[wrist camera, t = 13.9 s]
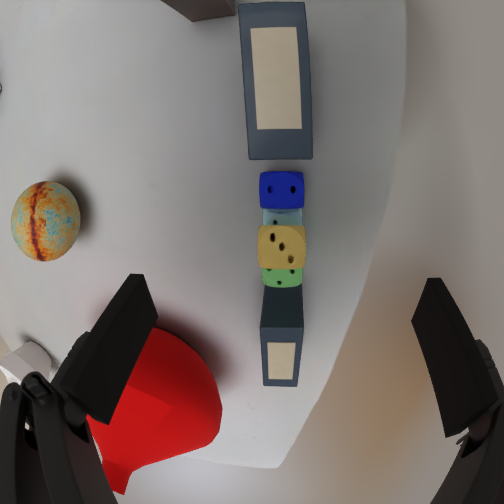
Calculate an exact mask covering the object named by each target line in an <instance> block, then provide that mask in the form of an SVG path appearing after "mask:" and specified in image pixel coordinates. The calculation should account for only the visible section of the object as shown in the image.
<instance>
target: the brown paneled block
mask: <svg viewBox="0 0 504 504" xmlns="http://www.w3.org/2000/svg"><path fill="white" fill-rule="evenodd" d="M161 1H162V2H164V3H166V4H167V5H169V6H170V7H172V8H173V9H175V10H176V11H177V12H179V13H180V14H182V15H183V16H185V17H186V18H187V19H189V20H190V21H192V22H194V21H199V20H204V19H210V18H217V17H224V16H231V15H235V4H234V0H161Z"/></svg>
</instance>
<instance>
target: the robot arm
mask: <svg viewBox="0 0 504 504" xmlns="http://www.w3.org/2000/svg"><path fill="white" fill-rule="evenodd" d="M157 318H158V314H157V311H156V308H155V306H154V303H153V300H152V298H151V295H150V292H149V289H148V286H147V283H146V281H145V278H144V275H143V274H130V275H129V276H128V277H127V279H126V280H125V282H124V283H123V284H122V286H121V287H120V289H119V290H118V291H117V293H116V294H115V296H114V297H113V299H112V300H111V301H110V303H109V304H108V306H107V307H106V309H105V310H104V312H103V313H102V315H101V316H100V318H99V319H98V321H97V322H96V324H95V325H94V327H93V328H92V330H91V332H85V333H84V334H82V335H81V336H80V337H79V338H78V339H77V340H76V342H75V343H74V345H73V347H72V350H70V351H69V353H68V356H67V357H66V358H65V360H64V361H63V363H62V365H61V366H60V368H59V370H58V371H57V373H56V375H55V377H54V378H53V380H52V382H51V383H49V382H48V381H47V380H46V379H45V377H44V376H43V375H42V374H41V373H40V372H37V371H33V372H30V373H28V374H27V375H26V376H25V377H24V378H23V380H22V382H21V385H19V384H18V383H16V382H12V383H10V384H8V385H7V386H6V388H5V389H4V391H3V394H2V399H1V405H0V504H118V503H117V500H116V498H115V496H114V494H113V491H112V489H111V487H110V484H109V482H108V480H107V477H106V475H105V472H104V469H103V467H102V464H101V461H100V458H99V455H98V452H97V449H96V446H95V444H94V440H93V437H92V433H91V430H90V426H89V423H88V421H87V419H86V416H87V414H88V415H89V416H91V417H92V418H93V419H94V420H96V421H98V422H101V423H103V424H106V425H108V426H109V424H110V421H111V419H112V416H113V414H114V412H115V409H116V407H117V405H118V402H119V400H120V398H121V395H122V393H123V391H124V388H125V386H126V384H127V382H128V379H129V377H130V375H131V373H132V371H133V368H134V366H135V364H136V362H137V360H138V358H139V355H140V353H141V351H142V349H143V347H144V345H145V343H146V341H147V339H148V337H149V335H150V332H151V330H152V328H153V326H154V324H155V322H156V320H157ZM411 322H412V325H413V327H414V330H415V333H416V335H417V338H418V341H419V344H420V347H421V349H422V352H423V355H424V358H425V361H426V364H427V368H428V371H429V374H430V377H431V381H432V384H433V388H434V391H435V395H436V398H437V402H438V406H439V410H440V414H441V419H442V423H443V427H444V433H445V437H446V438H447V437H450V436H453V435H456V434H459V433H461V432H462V431H463V430H465V429H466V428H467V427H468V429H469V432H468V433H467V434H466V435H464V436H463V437H462V438H460V439H459V440H458V441H457V443H456V444H457V445H458V444H459V443H461V442H462V441H463V440H464V441H463V443H462V444H461V445H460V446H461V448H460V450H459V452H458V454H457V456H456V458H455V461H454V463H453V465H452V467H451V468H450V471H449V472H448V474H447V476H446V478H445V480H444V482H443V484H442V485H441V487H440V488H439V490H438V492H437V494H436V495H435V497H434V498H433V500H432V501H431V503H430V504H504V385H503V383H502V380H501V378H500V375H499V373H498V370H497V368H495V363H494V361H493V360H492V357H491V354H490V352H489V350H488V348H487V347H486V346H485V344H484V343H483V342H482V341H481V340H480V339H479V340H475V339H474V337H473V335H472V333H471V331H470V329H469V327H468V325H467V323H466V321H465V319H464V317H463V316H462V314H461V312H460V310H459V308H458V306H457V305H456V303H455V301H454V299H453V298H452V296H451V294H450V292H449V291H448V289H447V287H446V286H445V284H444V282H443V281H442V279H441V278H428V279H427V281H426V284H425V287H424V290H423V292H422V295H421V298H420V300H419V303H418V306H417V308H416V310H415V313H414V315H413V318H412V320H411ZM25 422H26V423H27V424H28V425H29V430H27V429H26V428H25Z"/></svg>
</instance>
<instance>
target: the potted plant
mask: <svg viewBox="0 0 504 504" xmlns="http://www.w3.org/2000/svg"><path fill="white" fill-rule="evenodd" d="M51 364H52V362H51V358H50V356H49V355H48V353H47V352H46V351H45V350H44V349H43V348H42V347H40V346H39V345H38V344H36V343H34V342H31V341H30V342H28V343H26V344H25V345H23V346H22V347H20V348H19V349H17V350H16V351H14V352H13V353H12V352H10V351H9V352H7V353H6V355H5V356H4V358H3V359H2V361H1V362H0V369H1V371H2V372H3V374H4V375H5V376H6V377H7V382H8V383H9V384H10V383H12V382H16V383H18V384H19V385H21V382H22V380H23V378H24V377H25V376H26V375H27V374H28V373H30V372H33V371H37V372H40V373H41V374H42V375H43V376H44V377H45V379H46V380H47V381H48V379H49V374H50V369H51Z"/></svg>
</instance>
